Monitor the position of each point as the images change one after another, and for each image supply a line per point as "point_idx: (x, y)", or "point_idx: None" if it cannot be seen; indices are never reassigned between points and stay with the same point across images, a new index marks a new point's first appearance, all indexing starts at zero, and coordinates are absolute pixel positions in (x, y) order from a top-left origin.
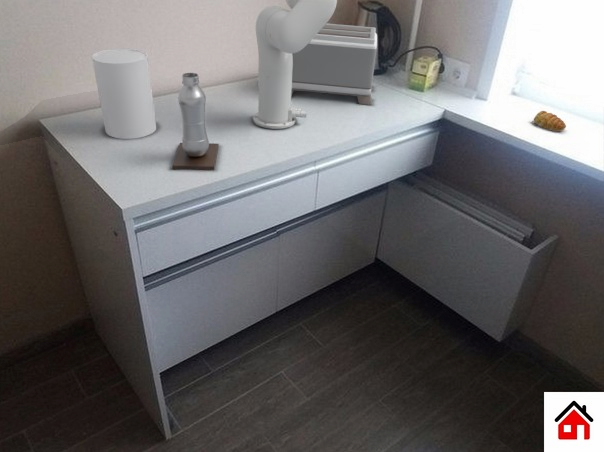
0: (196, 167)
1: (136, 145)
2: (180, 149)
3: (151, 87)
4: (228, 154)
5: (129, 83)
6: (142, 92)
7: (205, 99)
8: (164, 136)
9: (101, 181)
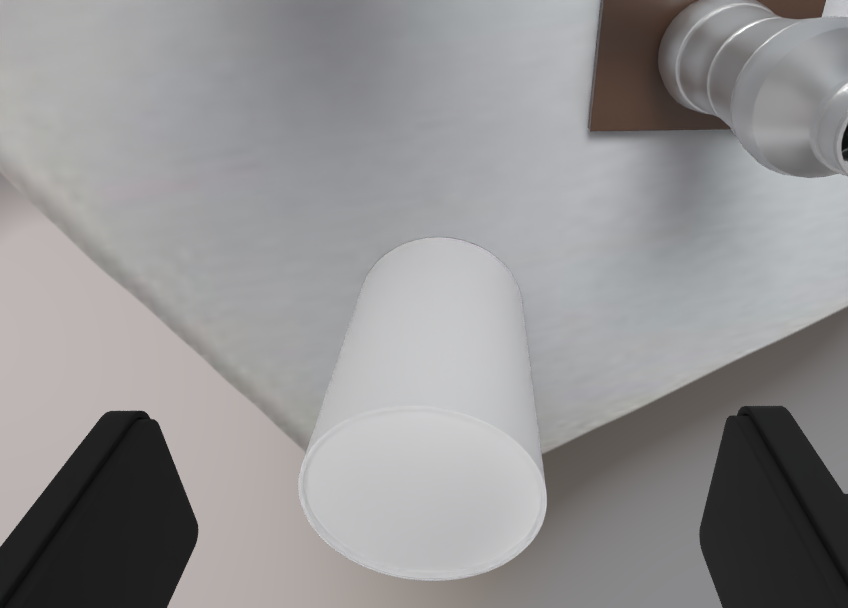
0: None
1: (573, 272)
2: (653, 119)
3: (406, 316)
4: None
5: (529, 401)
6: (494, 338)
7: (836, 17)
8: (498, 198)
9: (818, 315)
